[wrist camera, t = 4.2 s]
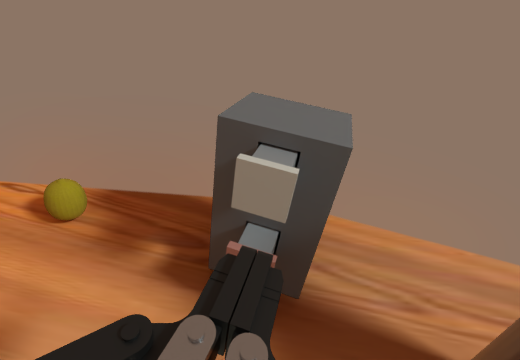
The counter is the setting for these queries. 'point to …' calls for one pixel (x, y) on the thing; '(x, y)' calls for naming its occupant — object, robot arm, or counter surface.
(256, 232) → the lower plunger
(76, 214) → the lemon
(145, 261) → the counter surface
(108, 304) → the counter surface
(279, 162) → the upper plunger
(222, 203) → the grey dispenser box
